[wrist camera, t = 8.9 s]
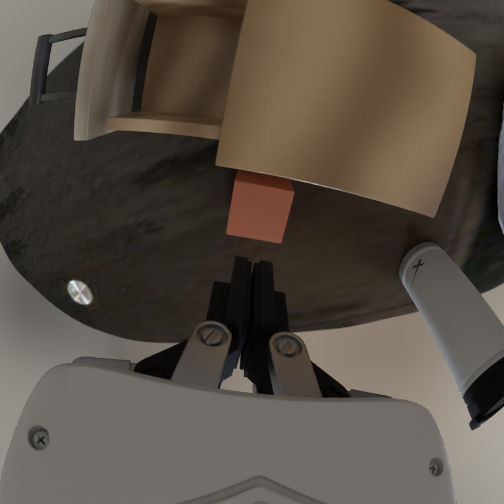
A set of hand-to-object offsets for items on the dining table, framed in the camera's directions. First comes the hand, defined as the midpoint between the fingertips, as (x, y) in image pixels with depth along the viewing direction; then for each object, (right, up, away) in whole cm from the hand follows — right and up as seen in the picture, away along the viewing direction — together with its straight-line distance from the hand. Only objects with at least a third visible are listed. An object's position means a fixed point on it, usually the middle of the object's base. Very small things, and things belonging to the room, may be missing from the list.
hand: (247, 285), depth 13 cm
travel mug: (+20, 0, +16) cm, 25 cm away
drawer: (-7, +17, +5) cm, 19 cm away
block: (+1, +7, +12) cm, 14 cm away
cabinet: (+7, +15, +7) cm, 18 cm away
